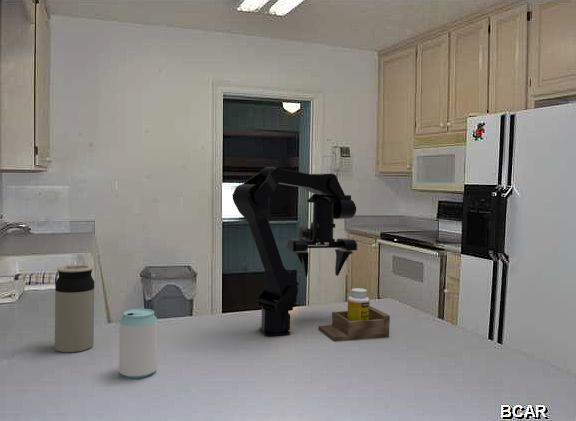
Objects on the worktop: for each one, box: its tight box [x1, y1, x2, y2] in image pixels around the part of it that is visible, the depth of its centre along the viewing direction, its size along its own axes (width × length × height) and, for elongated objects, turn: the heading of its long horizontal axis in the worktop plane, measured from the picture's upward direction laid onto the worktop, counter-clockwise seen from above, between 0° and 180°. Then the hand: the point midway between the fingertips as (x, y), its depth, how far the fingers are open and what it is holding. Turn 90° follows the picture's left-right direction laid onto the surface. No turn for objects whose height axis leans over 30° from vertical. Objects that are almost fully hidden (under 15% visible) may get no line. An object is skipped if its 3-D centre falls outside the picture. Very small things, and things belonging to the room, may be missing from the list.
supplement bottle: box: [347, 287, 371, 321], centre depth 128 cm, size 6×6×10 cm
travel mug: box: [54, 264, 95, 354], centre depth 110 cm, size 8×8×18 cm
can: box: [118, 308, 159, 379], centre depth 97 cm, size 7×7×12 cm
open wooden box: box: [317, 305, 391, 342], centre depth 128 cm, size 15×10×6 cm
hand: (321, 275), depth 137 cm, fingers open, 9 cm apart
